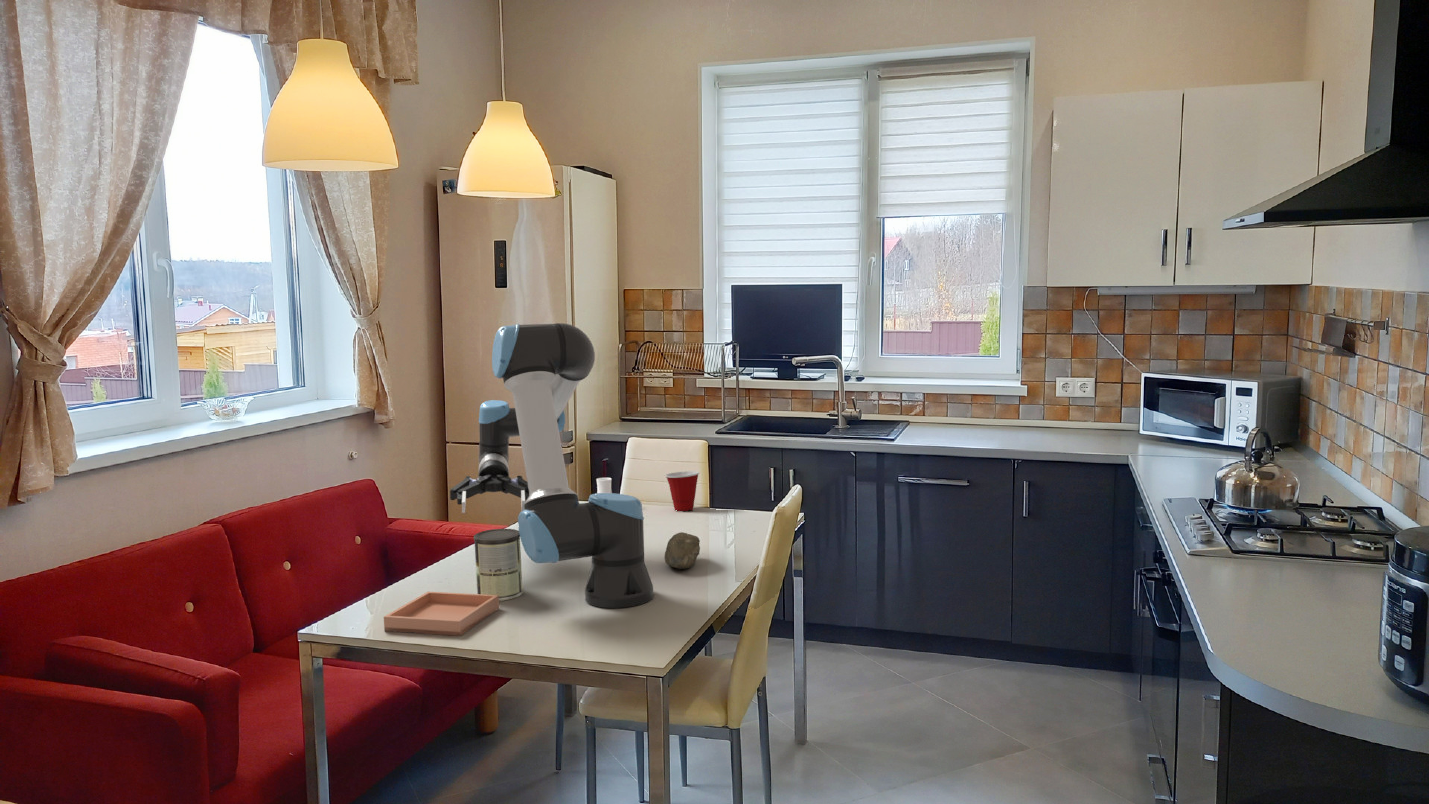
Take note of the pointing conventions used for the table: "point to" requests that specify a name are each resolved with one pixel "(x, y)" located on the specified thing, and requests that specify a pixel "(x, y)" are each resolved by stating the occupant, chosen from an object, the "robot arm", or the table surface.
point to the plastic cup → (683, 489)
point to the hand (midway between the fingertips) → (493, 506)
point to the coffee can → (498, 563)
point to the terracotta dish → (442, 613)
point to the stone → (682, 550)
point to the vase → (604, 485)
